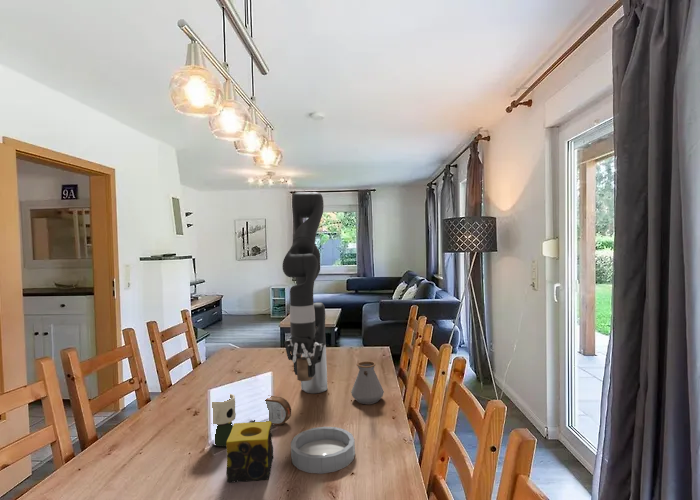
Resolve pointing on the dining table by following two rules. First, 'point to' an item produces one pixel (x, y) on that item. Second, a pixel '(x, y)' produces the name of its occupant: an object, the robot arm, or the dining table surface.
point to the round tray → (322, 449)
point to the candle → (249, 452)
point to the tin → (278, 410)
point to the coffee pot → (367, 384)
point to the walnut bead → (302, 369)
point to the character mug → (223, 419)
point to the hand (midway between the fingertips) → (304, 375)
